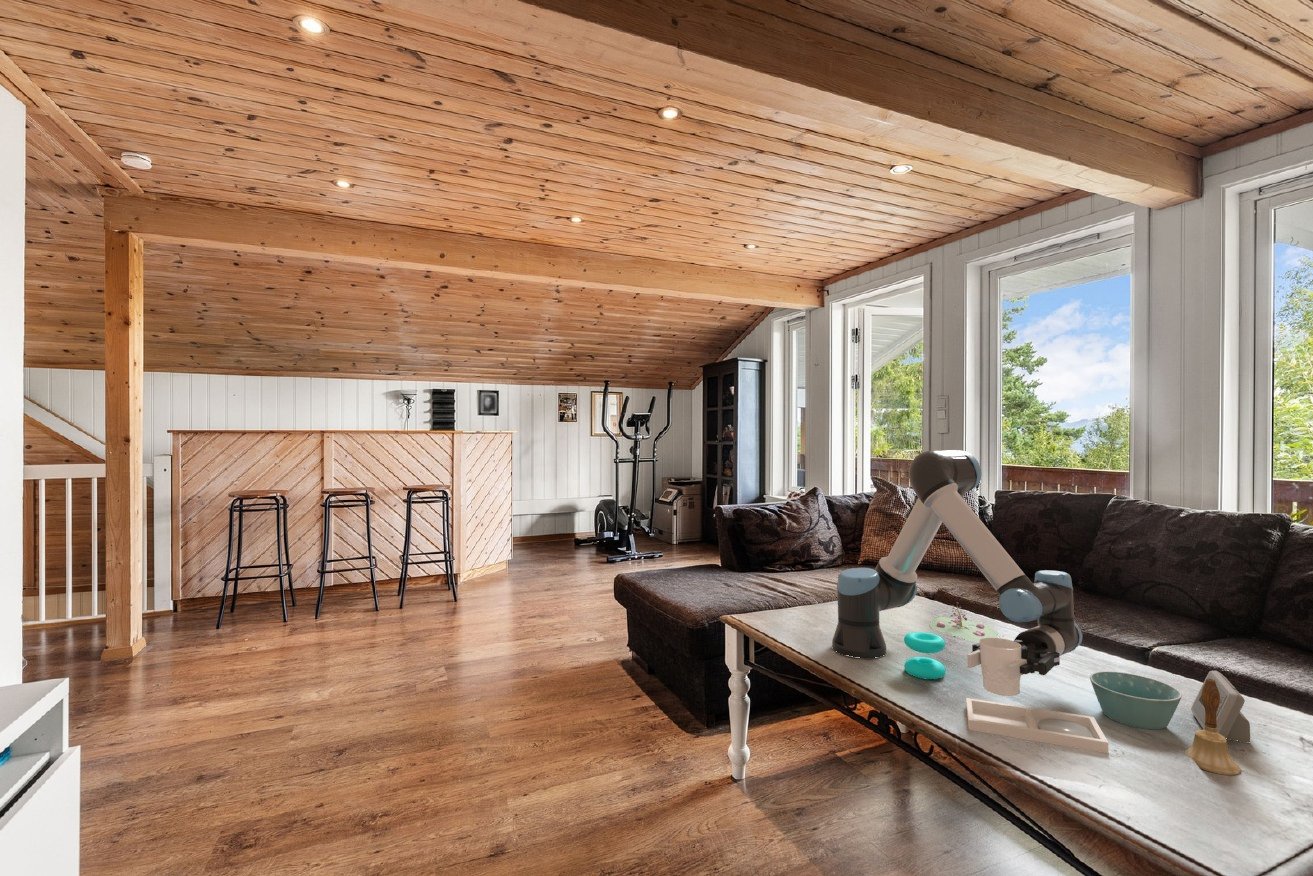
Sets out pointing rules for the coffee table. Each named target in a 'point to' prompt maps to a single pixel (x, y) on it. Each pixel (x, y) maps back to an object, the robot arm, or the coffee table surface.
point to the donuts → (924, 665)
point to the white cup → (999, 665)
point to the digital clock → (1225, 710)
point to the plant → (963, 627)
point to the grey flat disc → (1063, 727)
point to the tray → (1031, 724)
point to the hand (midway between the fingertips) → (989, 666)
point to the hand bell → (1212, 738)
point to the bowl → (1135, 699)
